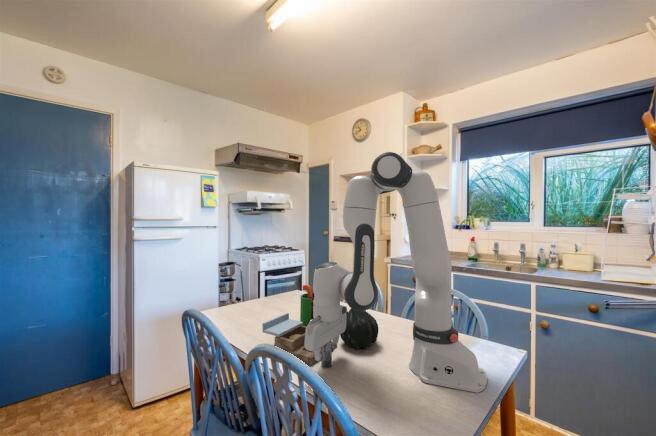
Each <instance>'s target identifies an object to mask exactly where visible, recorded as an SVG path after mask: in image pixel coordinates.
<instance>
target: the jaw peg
mask: <svg viewBox="0 0 656 436" xmlns="http://www.w3.org/2000/svg"><path fill="white" fill-rule="evenodd" d="M332 351H333V350H332V340H331V341H330V342H328V343H327V344H325V345H324V346H322V347H321V354H322V359H321V360H320V361H321V362H320V363H321V365H320V366H321V367H322V368H324V369H330V368H331V367H332V365H333V359H332V358H333V356H332V355H333V352H332Z"/></svg>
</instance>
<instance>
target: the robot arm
mask: <svg viewBox="0 0 656 436" xmlns="http://www.w3.org/2000/svg"><path fill="white" fill-rule="evenodd" d="M370 168H371V169H370V170H371V171H370V172H369V174H366V175H356V176H354V177H352V178H351V179H350V180H349V181H348V183H347V184H348V185H347V187H346V191H345V195H344V201H343V209H342V212H343V213H342V221H343V223H342V224H343V227H344V230H345V231H346V233H347V234H348V235H349V238H350V240H351V242H352V246H353V258H352V259H353V262H352V270H351V269H348V268H345V267H344V266H341V265H340V264H339V263H338V262H335V261H329V262H328V261H327V262H322V263H319V264H318V265H317V266H316V267H315V269H314V272H313V280H312V281H313V282H312V290H313V291H312V293H314V301H313V318H314V319H311V320H310V322H309V324H308V325H307V327H306V332H305V342H304V346H305V348H306V350H309V352H312V353H314V354H315V360H316V361H317V362H320V361H321V359H322V354H320V350H321V347H322V346H324V345H325V344H327V343H328V342H330V341H331V340H332V349H333V350H332V351H334V350H336V349H337V348H338V343H339V340H340V334H342V333H343V332H345V329H346V312H347V311H348V306H349V308H350V309H351V308H352V309H353V310H355V311H366V312H367V311H369V310H370V309H371V308H372V307H373V306H374V305H375V304H376V302H377V301H378V297H379V291H378V287H377V286H378V285H377V283H376V279H375V241H376V240H375V236H376V235H375V230H376V229H375V228H376V217H377V207H378V206H377V205H378V200H379V199H378V198H379V196H380V195H382V194H383V195H384V194H388V193H392V192H394V191H397V192H398V193H399V195H400V197H401V200H402V206H403V211H404V216H405V222H406V226H407V228H406V229H407V232H408V233H407V234H408V241H409V242H408V243H409V249H410V250H409V251H410V257H411V262H412V263H411V265H412V269H413V270H412V271H413V274H414V276H415V291H414V292H415V293H414V322H413V323H412V336H413V337H412V339H413V348H412V355H411V358H410V361H409V365H408V366H409V369H410V370H411V371H412V373H414V374H415V375H416V376H417V377H418V378H419V379H420V381H421V382H422V383H424V384H425V383H426V384H430V385H434V386H441V387H446V388H451V389H455V390H461V391H466V392H471V393H472V392H473V393H480V392H482V391H485V389H486V387H487V383H488V376H487V373H486V371H485V370H484V369H482V368H481V367H479V363H478V359H477V357H476V355H475V353H474V352H473V351H472V350H470V349H469V347H467V346H465V345H464V344H463V343H462V341H460V340H459V328H458V327H457V328H456V329H455V328H454V326H452V270H453V268H452V260H451V256H450V252H449V247H448V242H447V236H446V232H445V226H444V221H443V217H442V216H443V215H442V210H441V206H440V201H439V197H438V193H437V190H436V187H435V184H434V181H433V179H432V177H431V175H430V174H429V173H428V172H426V171H424V170H423V171H422V170H415V171H413V168H412V167H411V166H410V165H409V163H408V162H407V161H406V160H405V159H404V158H403V157H402V156H401V155H400V154H398V153H396V152H394V151H393V152H392V151H386V152H382V153H380V154H378V156H377V157H375V159H373V162H372V164H371V167H370ZM341 301H345V302H346V304H347V305H348V306H346V305H344V304H341Z"/></svg>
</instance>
